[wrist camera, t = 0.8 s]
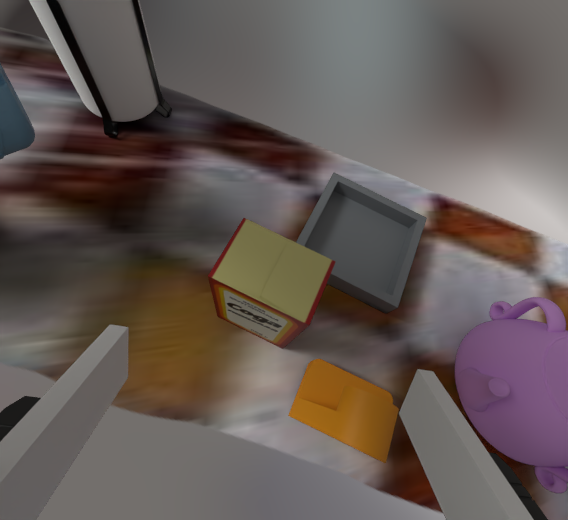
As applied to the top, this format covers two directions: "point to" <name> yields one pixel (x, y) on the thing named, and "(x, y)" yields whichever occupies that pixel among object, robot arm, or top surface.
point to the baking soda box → (268, 283)
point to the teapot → (520, 386)
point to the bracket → (346, 408)
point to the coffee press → (105, 56)
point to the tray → (364, 241)
